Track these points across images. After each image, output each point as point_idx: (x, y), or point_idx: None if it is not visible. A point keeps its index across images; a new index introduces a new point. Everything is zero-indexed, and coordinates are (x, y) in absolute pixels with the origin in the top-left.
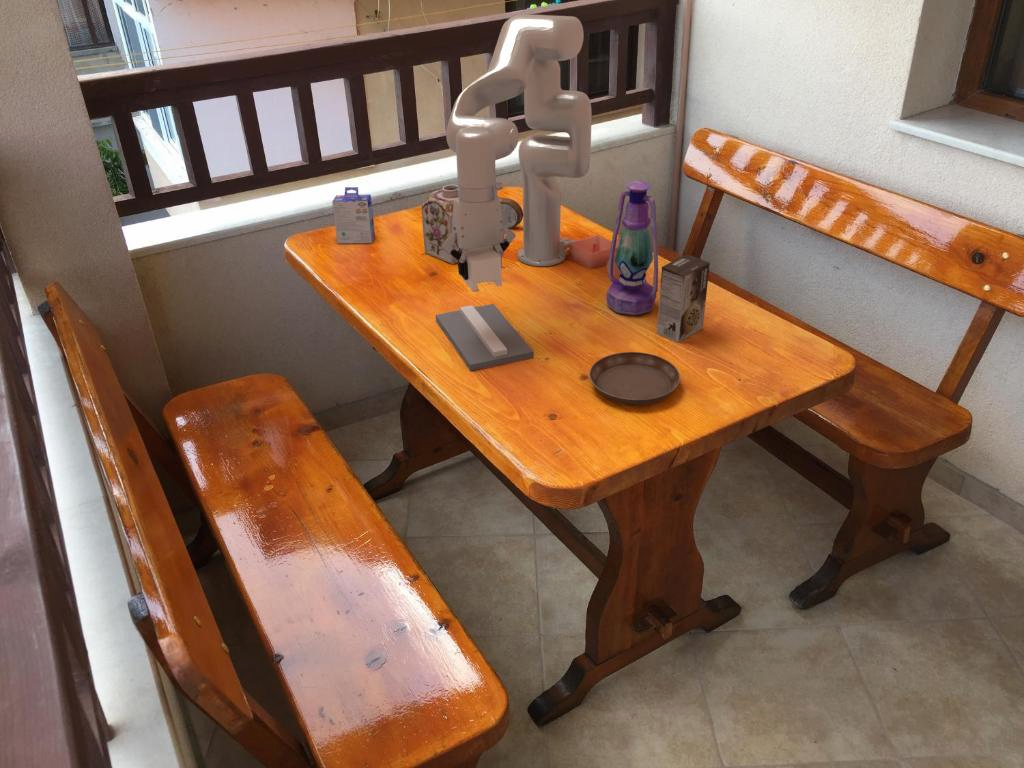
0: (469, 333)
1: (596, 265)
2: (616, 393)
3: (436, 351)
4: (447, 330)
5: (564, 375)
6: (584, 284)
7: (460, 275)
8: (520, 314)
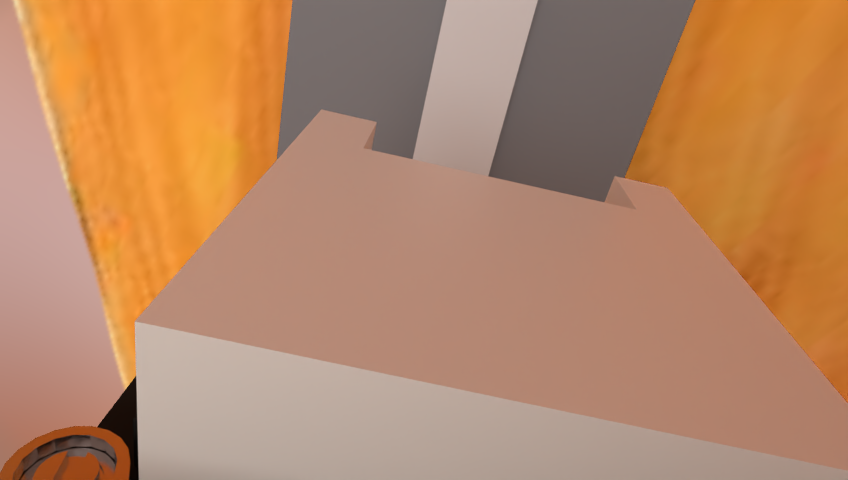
0: (388, 113)
1: None
2: None
3: (195, 108)
4: (297, 5)
5: None
6: None
7: (319, 115)
8: (806, 18)
